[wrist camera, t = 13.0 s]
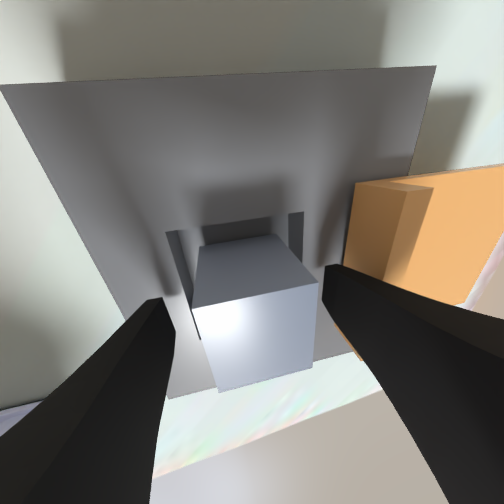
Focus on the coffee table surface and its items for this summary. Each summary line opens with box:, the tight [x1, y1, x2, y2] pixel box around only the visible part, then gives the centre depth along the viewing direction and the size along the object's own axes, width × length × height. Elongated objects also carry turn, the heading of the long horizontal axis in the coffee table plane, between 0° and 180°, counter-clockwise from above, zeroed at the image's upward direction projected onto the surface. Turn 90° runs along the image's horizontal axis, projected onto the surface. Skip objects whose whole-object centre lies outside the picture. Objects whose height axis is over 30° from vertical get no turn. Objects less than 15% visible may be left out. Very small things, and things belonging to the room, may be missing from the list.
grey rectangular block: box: [192, 234, 319, 393], centre depth 9 cm, size 4×4×5 cm
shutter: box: [334, 163, 504, 361], centre depth 10 cm, size 9×8×2 cm
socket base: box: [0, 66, 436, 399], centre depth 11 cm, size 14×16×3 cm
